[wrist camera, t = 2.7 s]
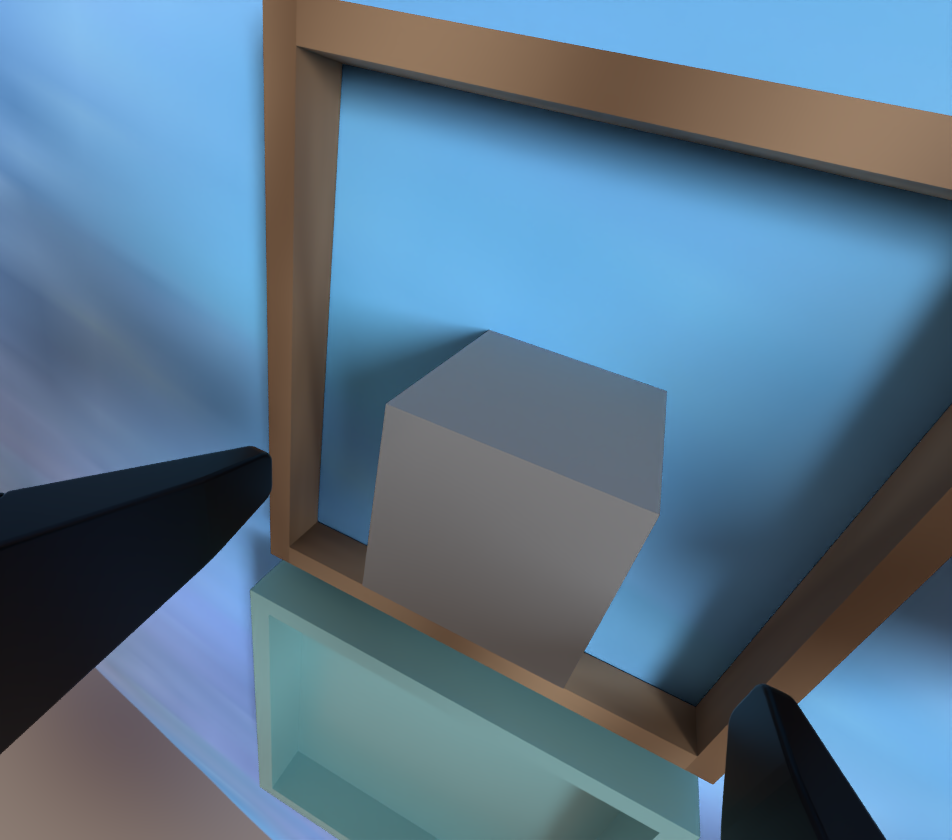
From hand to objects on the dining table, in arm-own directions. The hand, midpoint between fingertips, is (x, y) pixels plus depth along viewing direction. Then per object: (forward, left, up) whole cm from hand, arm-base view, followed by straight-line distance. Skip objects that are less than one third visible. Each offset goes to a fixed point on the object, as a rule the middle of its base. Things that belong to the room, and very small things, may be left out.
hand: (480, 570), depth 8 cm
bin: (0, +16, -5) cm, 17 cm away
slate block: (0, 0, -5) cm, 5 cm away
